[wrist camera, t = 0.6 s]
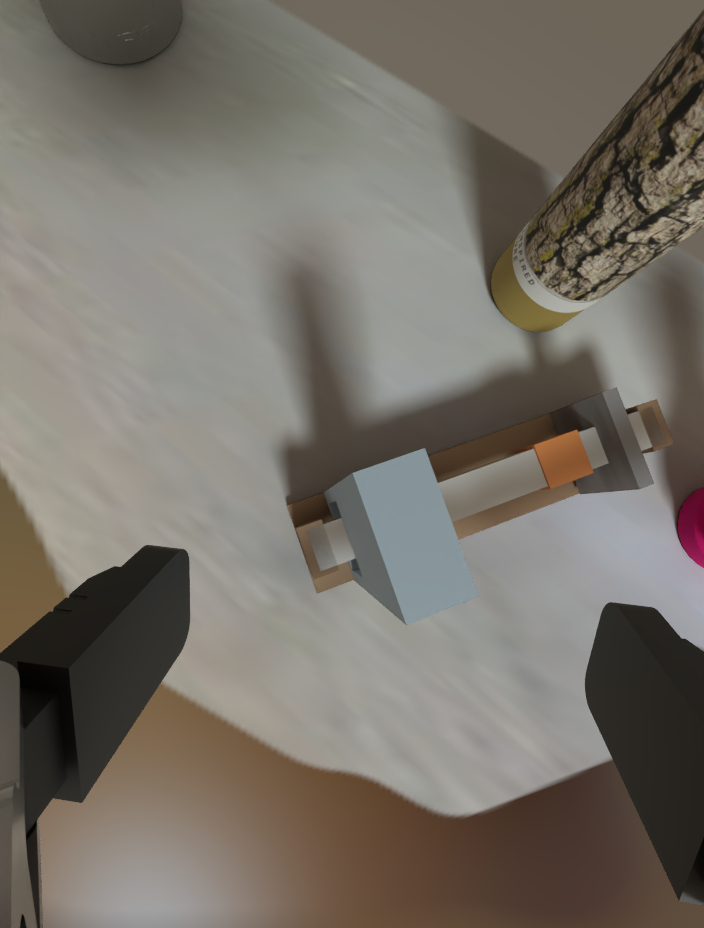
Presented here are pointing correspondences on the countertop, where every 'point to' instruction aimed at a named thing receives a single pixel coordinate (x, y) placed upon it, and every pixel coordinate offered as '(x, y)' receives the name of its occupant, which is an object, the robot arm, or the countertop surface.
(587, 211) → the paper tube
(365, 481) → the light blue block
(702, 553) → the pepper mill
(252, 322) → the countertop surface
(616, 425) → the rail
